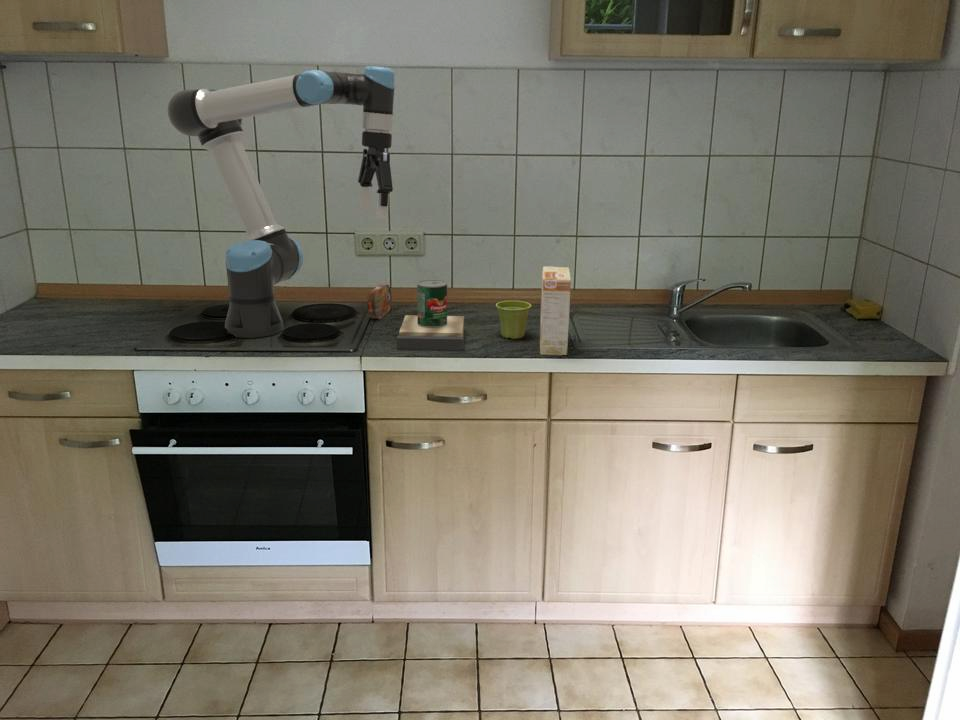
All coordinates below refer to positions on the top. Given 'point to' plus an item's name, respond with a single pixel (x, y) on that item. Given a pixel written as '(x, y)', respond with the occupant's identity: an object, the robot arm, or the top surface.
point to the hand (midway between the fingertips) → (373, 215)
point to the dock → (431, 335)
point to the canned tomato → (432, 303)
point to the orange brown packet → (379, 301)
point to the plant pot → (513, 318)
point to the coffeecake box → (555, 310)
